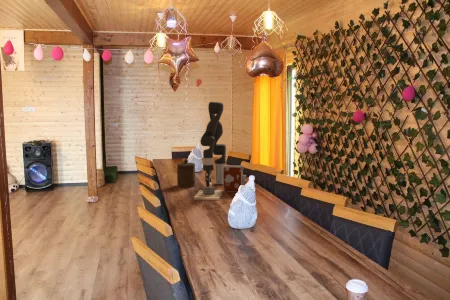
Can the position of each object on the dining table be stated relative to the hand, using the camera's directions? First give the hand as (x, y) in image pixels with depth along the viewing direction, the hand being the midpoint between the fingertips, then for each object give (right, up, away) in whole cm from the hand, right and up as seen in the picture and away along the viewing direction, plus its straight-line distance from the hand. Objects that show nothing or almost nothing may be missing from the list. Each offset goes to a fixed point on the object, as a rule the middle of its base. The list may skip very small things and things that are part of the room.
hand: (208, 185), depth 296 cm
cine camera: (+21, -6, +15) cm, 26 cm away
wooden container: (-20, -4, +37) cm, 42 cm away
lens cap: (0, -6, +1) cm, 6 cm away
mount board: (0, -8, +1) cm, 8 cm away
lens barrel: (0, -6, +1) cm, 6 cm away
